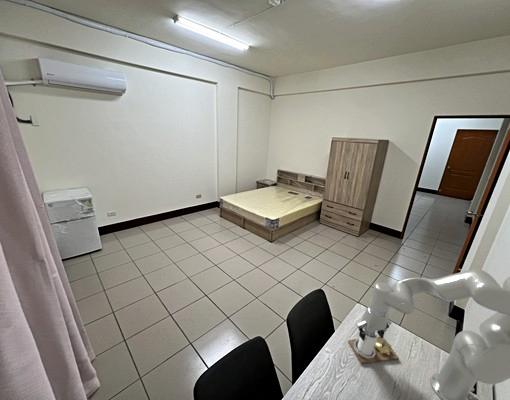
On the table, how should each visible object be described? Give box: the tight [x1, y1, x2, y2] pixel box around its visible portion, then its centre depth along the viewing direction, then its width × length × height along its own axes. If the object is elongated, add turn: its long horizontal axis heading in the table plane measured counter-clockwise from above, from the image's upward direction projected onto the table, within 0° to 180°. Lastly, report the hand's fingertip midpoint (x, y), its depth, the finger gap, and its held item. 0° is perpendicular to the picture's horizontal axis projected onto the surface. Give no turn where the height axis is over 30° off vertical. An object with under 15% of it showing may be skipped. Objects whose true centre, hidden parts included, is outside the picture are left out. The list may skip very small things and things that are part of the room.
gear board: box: [348, 336, 400, 365], centre depth 107 cm, size 20×11×2 cm, turn 99°
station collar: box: [353, 338, 376, 360], centre depth 106 cm, size 10×10×1 cm
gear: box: [374, 336, 394, 357], centre depth 107 cm, size 9×9×4 cm
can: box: [358, 327, 378, 356], centre depth 104 cm, size 6×6×12 cm
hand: (370, 336), depth 102 cm, fingers open, 9 cm apart
